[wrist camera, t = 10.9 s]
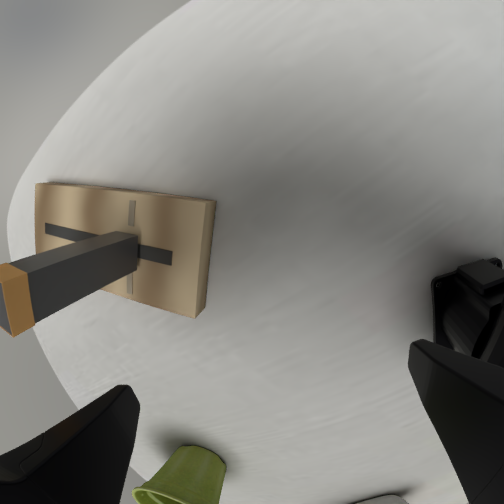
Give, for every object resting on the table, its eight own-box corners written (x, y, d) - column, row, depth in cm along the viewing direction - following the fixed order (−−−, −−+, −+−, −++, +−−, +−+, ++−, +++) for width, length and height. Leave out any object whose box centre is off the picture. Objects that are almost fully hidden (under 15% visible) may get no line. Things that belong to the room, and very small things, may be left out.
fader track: (216, 201, 20) (205, 202, 18) (205, 307, 22) (194, 319, 20) (50, 182, 23) (34, 183, 21) (50, 259, 25) (36, 265, 23)
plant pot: (162, 460, 29) (133, 506, 20) (167, 422, 26) (129, 477, 18) (230, 487, 27) (210, 538, 19) (249, 454, 25) (227, 518, 17)
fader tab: (138, 234, 19) (1, 282, 8) (137, 270, 19) (13, 337, 9) (115, 230, 19) (-17, 270, 9) (115, 264, 20) (-7, 321, 9)
